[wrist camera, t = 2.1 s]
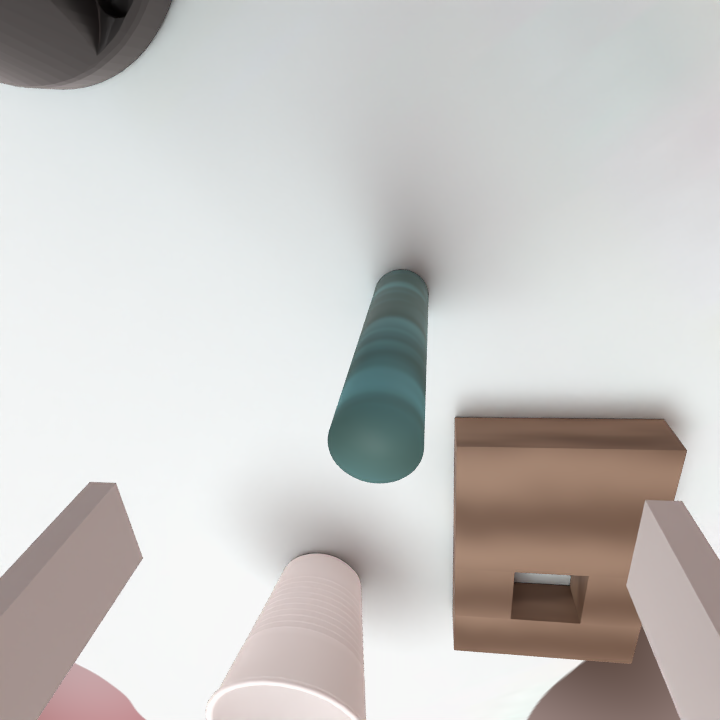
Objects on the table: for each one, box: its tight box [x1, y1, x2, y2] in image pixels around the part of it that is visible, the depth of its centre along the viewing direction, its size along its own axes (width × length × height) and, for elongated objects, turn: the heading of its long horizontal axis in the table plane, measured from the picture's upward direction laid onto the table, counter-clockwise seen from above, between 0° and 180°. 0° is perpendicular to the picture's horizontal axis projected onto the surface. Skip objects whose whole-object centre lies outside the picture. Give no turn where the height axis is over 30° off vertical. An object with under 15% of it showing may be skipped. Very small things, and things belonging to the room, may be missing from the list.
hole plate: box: [453, 417, 687, 664], centre depth 33 cm, size 18×12×3 cm, turn 5°
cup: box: [206, 553, 366, 720], centre depth 34 cm, size 10×10×11 cm
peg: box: [328, 270, 428, 483], centre depth 22 cm, size 3×3×14 cm
